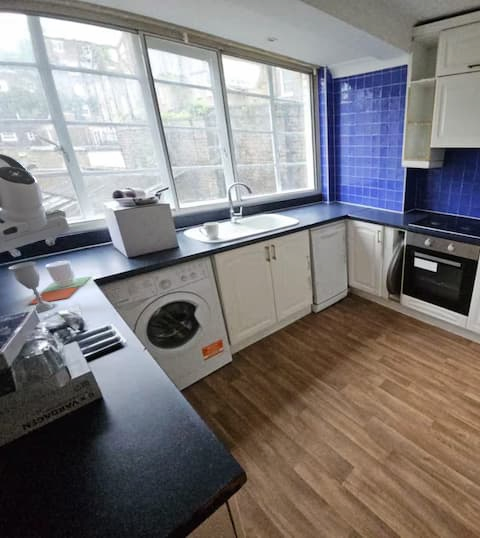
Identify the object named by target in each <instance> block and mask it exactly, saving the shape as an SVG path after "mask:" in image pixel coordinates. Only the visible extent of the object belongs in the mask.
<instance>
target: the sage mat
mask: <svg viewBox="0 0 480 538" xmlns="http://www.w3.org/2000/svg"><path fill="white" fill-rule="evenodd" d="M89 279H90V276H85V277H79V278H76V280H77V282H76V283H74V284H72V285H69V286H65V287H57V286H56V284H55V282H54V281H53V283H51V284H50V285H49V286H48V287H46V288H45V289H44V290H43V291H42V293H44V292H51V291H57V290H63V289H69V288H75V287H78V288H81V287H82V286H84V284H85V283H86V282H87V281H88V280H89Z"/></svg>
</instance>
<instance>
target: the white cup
mask: <svg viewBox="0 0 480 538" xmlns="http://www.w3.org/2000/svg"><path fill="white" fill-rule="evenodd" d="M44 267H45V269H46V270H47V272H48V274H49V275H50V278H51V279H52V281H53V283H54V282H55V284H56V286H57V287H65V286H69V285H72V284H74V283H76V282H77V280H76V279H77V278H76V274H75V271H74V268H73V266H72V263H71V261H70V260H69V259H67V260H66V259H65V260H58V261H52V262H50V263H47V264H46V265H45V266H44Z"/></svg>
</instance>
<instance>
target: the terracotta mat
mask: <svg viewBox="0 0 480 538" xmlns="http://www.w3.org/2000/svg"><path fill="white" fill-rule="evenodd" d="M78 289H79V287H75V288H69V289H63V290H57V291H51V292H44V293H43V292H42V293H40V294H39V295H40V296H42V297H41V300H42V301H44V302H45V301H46V302H49V303H50V302H54V301H61V300H67V299H69V298H70V297H71V296H72V295H73V294H74V293H75V292H76V291H77V290H78ZM38 302H39V300H38V299H36V298H34V299H33V300H32V301H31V302H30V303H28V306H32V305H33V306H34V305H36V304H38Z"/></svg>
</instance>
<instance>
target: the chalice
mask: <svg viewBox="0 0 480 538" xmlns="http://www.w3.org/2000/svg"><path fill="white" fill-rule="evenodd" d="M8 270H10V271H11V272H12V274H13V276H14V278H15V279H16V281H17V282H18V283H19V284H21V285H22V286H23V287H24V288H27V289H28V290H32V291H33V295H35V299H38V300H39V302H38V304H35V308H34V309H35V310H36V311H37V312H36V311H35V312H36V313H40V312H45V311H48V310H50V309H52V308H53V307H54V305H53V304H51V303H50V302H46V301H45V302H44V301H42V300H41V297H42V296H40V295H41V294H40V291H38V290H37V288H39V286H40V279H41V278H40V273H39V271H38V269H37V267H36V262H35V261H26V262H21V263H16V264H13V265H11V266H9V267H8Z"/></svg>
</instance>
